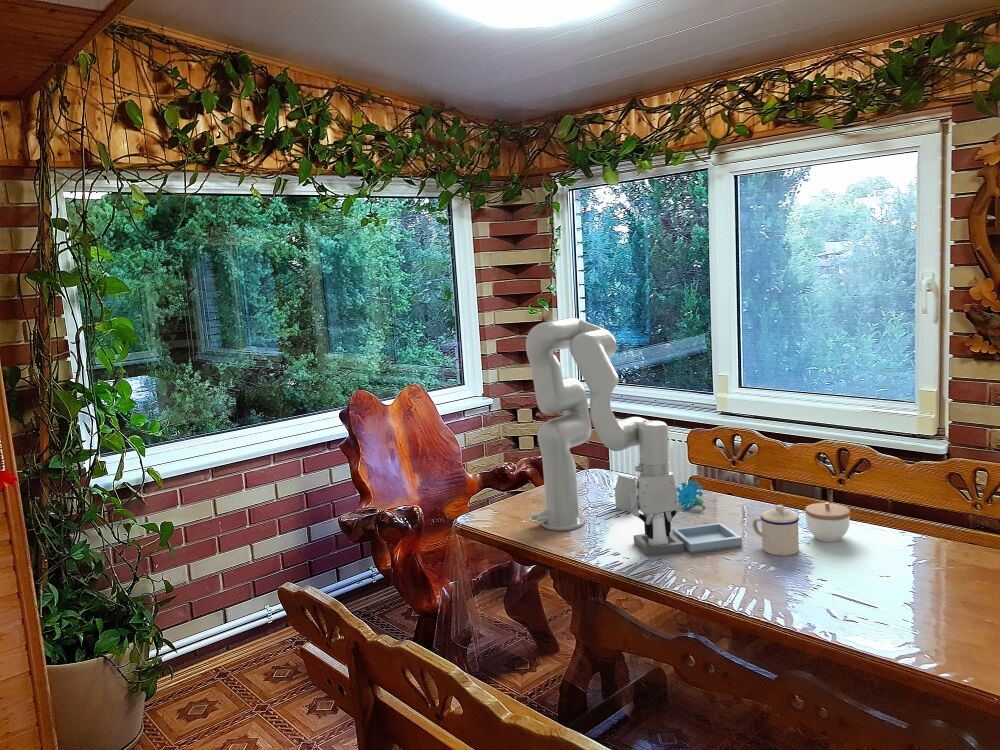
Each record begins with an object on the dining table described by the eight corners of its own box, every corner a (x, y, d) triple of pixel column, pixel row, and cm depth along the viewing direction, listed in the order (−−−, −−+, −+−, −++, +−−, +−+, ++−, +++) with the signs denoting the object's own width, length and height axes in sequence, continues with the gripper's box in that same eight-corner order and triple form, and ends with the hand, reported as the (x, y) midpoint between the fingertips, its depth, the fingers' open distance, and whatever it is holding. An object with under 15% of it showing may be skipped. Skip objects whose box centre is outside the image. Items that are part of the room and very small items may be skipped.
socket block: (647, 556, 194) (646, 548, 194) (634, 543, 204) (633, 535, 204) (684, 551, 196) (683, 543, 195) (669, 538, 206) (668, 530, 205)
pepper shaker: (644, 548, 200) (642, 508, 198) (655, 542, 204) (653, 502, 202) (661, 552, 196) (659, 511, 194) (673, 546, 200) (671, 506, 198)
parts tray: (691, 553, 194) (690, 544, 194) (672, 537, 206) (672, 529, 205) (742, 546, 196) (741, 537, 196) (721, 531, 208) (720, 522, 208)
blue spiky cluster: (665, 499, 233) (685, 474, 234) (675, 509, 236) (695, 484, 237) (688, 514, 223) (709, 487, 224) (699, 524, 226) (719, 497, 227)
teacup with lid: (806, 548, 192) (805, 504, 190) (788, 559, 186) (787, 514, 184) (762, 538, 201) (761, 495, 199) (744, 548, 195) (743, 504, 193)
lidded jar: (852, 546, 191) (852, 510, 190) (806, 544, 195) (806, 509, 193) (848, 531, 201) (847, 497, 200) (804, 529, 205) (804, 496, 203)
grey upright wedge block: (631, 512, 229) (629, 480, 227) (615, 507, 234) (614, 476, 233) (640, 509, 231) (638, 477, 229) (624, 504, 236) (622, 473, 235)
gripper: (628, 476, 192) (632, 545, 194) (691, 468, 194) (693, 536, 197) (619, 468, 199) (623, 535, 202) (679, 461, 202) (682, 527, 204)
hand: (657, 535), depth 199 cm, fingers closed on pepper shaker, 3 cm apart
